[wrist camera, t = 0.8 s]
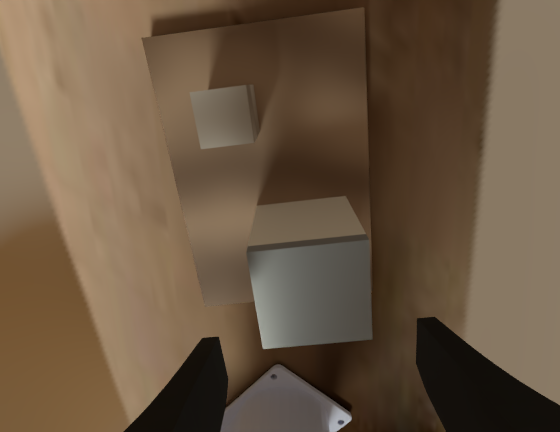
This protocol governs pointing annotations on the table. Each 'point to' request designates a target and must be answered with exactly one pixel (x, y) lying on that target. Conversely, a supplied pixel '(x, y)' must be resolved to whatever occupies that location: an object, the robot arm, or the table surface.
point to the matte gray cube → (310, 273)
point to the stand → (261, 129)
